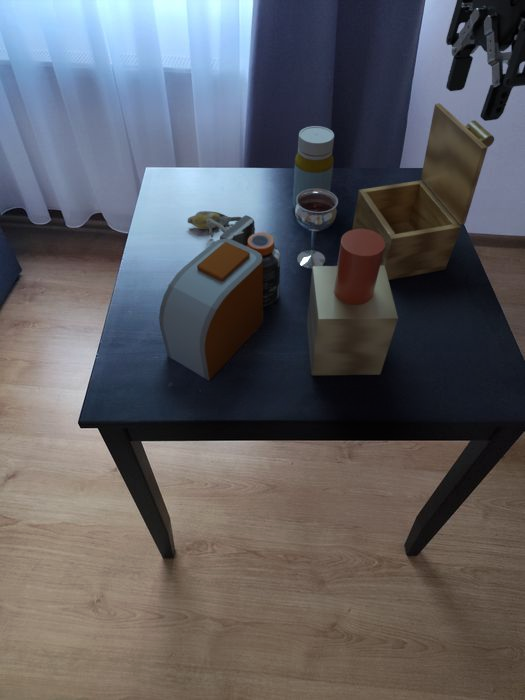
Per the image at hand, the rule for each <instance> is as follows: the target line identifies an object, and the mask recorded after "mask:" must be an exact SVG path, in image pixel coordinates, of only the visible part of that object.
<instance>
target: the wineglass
mask: <svg viewBox="0 0 525 700" xmlns="http://www.w3.org/2000/svg"><path fill="white" fill-rule="evenodd" d="M296 202H297V205H296V208H295V210H294V216H295V219H296V220H297V222H298V225H300V226H301V227H302V228H304V229H305V230H307V231H309V232H311V234H310V235H311V237H310V238H311V239H310V249H308V250H303V251H301V252H300V253H298V255H297V263H298V264H299V265H300V266H301V267H304V268H306V269H312V267H313V266H324V264H325V262H326V257H325V255H324V254H323V253H321V252H320V251H317V250H315V249H314V248H315V242H316V236H317V232H322V231H324V230H326V229H328V228H330V226H332V225H333V224H334V222H335V220H336V217H337V215H338V210H337V206H338V204H339V199H338V196H337V195H335V194H334V193H333V192H331V191H330V192H329V191H327V190H323V189H308V190H305V191H302V192H301V193H300V194H298V196H297V198H296Z"/></svg>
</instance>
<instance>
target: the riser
mask: <svg viewBox="0 0 525 700" xmlns="http://www.w3.org/2000/svg"><path fill="white" fill-rule="evenodd" d="M336 269H337V265H322V266H313V267H312V268H311V275H310V276H311V278H310V287H309V295H308V296H309V297H308V307H307V318H306V332H307V342H308V354H309V365H310V375H311V376H380V375H381V374H382V371H383V367H384V365H385V361H386V358H387V355H388V351H389V349H390V346H391V342H392V339H393V336H394V332H395V330H396V328H397V327H396V326H397V323H398V321H399V316H398V312H397V309H396V304H395V300H394V296H393V292H392V289H391V285H390V280H388V277H387V273H386V269H385V266H384V265H382V266H380V269H379V273H378V277H377V281H376V285H375V289H374V293H373V296H372V298H371V299H370V300H369V301H368V302H366V303H364V304H360V305H352V304H347V303H344V302H342V301H341V300H339V299H338V298H337V297H336V295H335V293H334V282H335V276H336Z"/></svg>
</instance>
